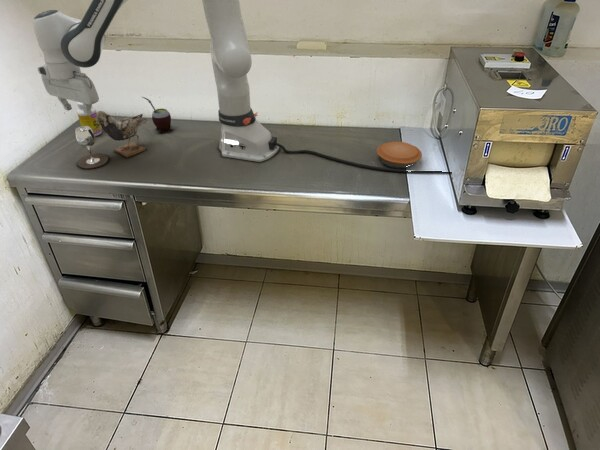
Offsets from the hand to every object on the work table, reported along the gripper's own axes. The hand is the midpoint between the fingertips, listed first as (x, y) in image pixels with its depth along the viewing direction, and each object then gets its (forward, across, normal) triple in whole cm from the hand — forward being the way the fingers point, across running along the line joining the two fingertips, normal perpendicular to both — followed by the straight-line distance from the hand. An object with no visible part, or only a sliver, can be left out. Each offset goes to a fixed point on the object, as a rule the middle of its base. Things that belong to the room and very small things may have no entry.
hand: (78, 112), depth 142 cm
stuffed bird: (+19, -5, -12) cm, 22 cm away
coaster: (+18, 0, 0) cm, 18 cm away
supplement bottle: (+18, +18, -16) cm, 30 cm away
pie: (+20, -94, -50) cm, 108 cm away
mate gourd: (+19, -4, -31) cm, 36 cm away
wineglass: (+18, 0, 0) cm, 18 cm away
